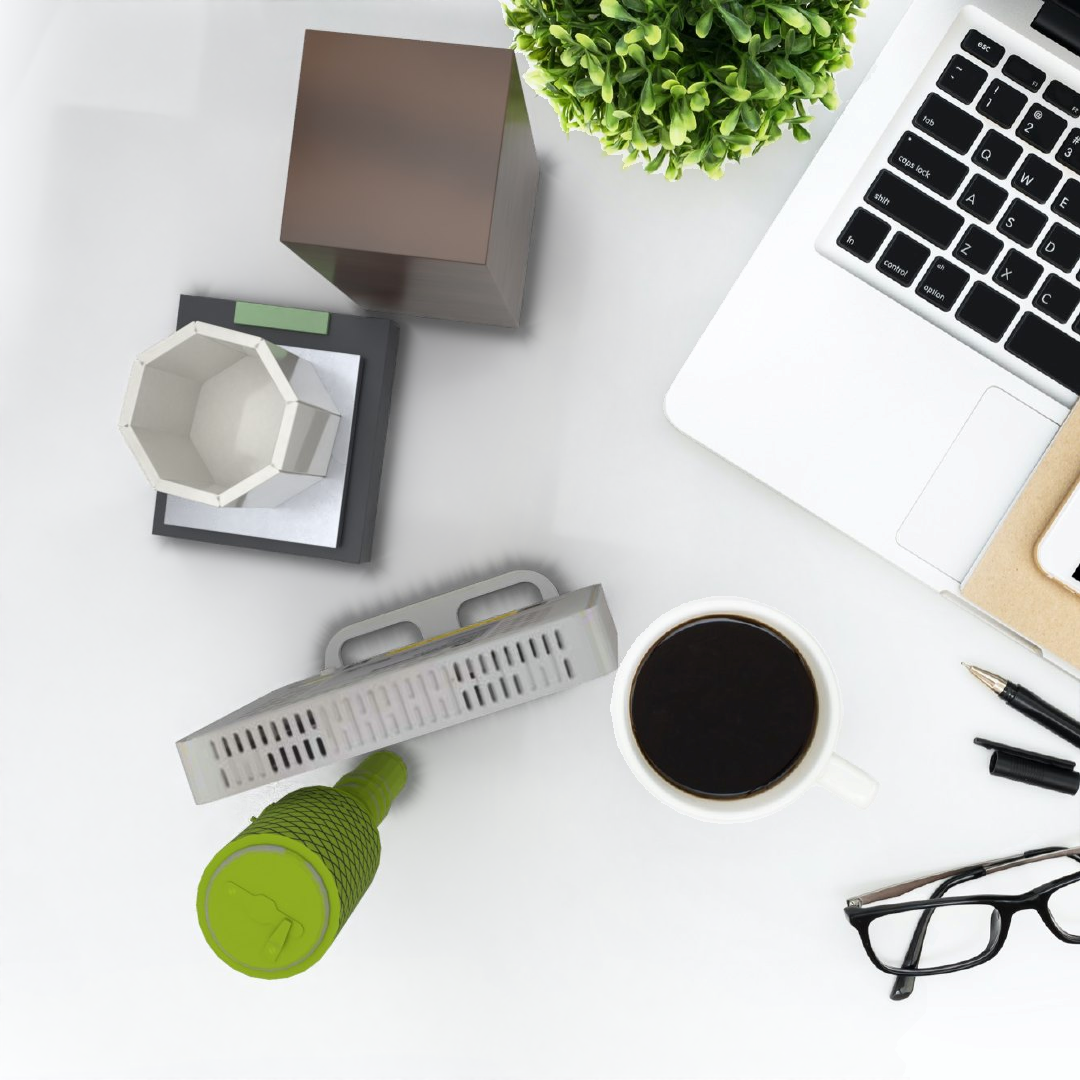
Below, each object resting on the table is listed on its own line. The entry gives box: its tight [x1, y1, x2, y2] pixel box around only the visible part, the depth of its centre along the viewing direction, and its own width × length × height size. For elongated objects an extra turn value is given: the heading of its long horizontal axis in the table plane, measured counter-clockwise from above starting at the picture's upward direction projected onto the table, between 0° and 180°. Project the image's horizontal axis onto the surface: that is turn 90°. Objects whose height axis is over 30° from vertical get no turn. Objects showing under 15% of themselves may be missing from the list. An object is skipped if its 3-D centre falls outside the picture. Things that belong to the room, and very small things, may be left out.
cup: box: [118, 321, 340, 508], centre depth 63 cm, size 11×11×9 cm
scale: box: [151, 293, 401, 565], centre depth 70 cm, size 18×16×3 cm
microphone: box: [195, 750, 408, 981], centre depth 59 cm, size 8×8×25 cm
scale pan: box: [164, 344, 364, 548], centre depth 68 cm, size 14×13×1 cm
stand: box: [279, 28, 541, 329], centre depth 61 cm, size 12×12×18 cm
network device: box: [174, 569, 619, 806], centre depth 61 cm, size 26×9×20 cm, turn 109°
